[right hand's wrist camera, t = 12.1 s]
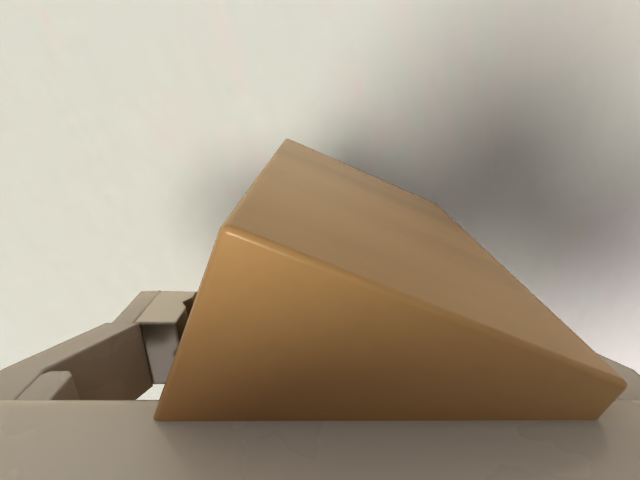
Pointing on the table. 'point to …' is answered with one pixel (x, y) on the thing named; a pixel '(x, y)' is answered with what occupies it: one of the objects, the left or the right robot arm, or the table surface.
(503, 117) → the table surface
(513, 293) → the bar
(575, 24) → the table surface
